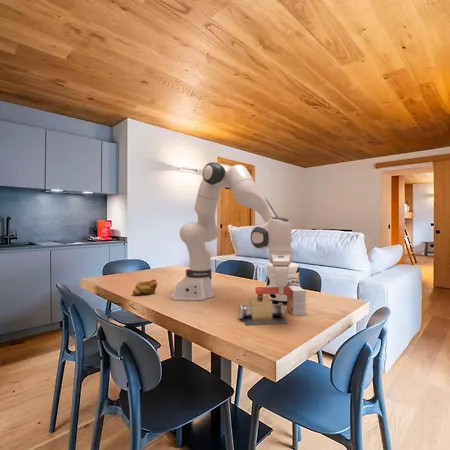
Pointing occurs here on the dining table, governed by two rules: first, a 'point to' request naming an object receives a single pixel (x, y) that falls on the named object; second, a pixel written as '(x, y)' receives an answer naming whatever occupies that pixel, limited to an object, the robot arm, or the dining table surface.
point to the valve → (262, 311)
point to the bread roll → (145, 287)
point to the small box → (296, 301)
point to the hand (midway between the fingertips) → (281, 293)
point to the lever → (271, 290)
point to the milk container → (291, 281)
